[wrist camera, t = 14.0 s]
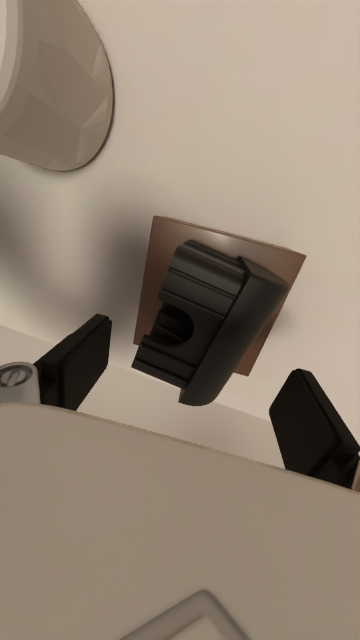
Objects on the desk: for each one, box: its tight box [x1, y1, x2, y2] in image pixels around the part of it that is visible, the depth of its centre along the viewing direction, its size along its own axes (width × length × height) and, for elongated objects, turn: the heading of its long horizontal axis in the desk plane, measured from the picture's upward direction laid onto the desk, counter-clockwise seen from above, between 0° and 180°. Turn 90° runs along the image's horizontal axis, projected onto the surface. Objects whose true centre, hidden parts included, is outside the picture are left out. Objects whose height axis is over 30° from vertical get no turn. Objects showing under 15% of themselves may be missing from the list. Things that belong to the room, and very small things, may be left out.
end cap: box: [131, 240, 289, 406], centre depth 16 cm, size 10×7×7 cm
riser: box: [133, 216, 306, 376], centre depth 21 cm, size 12×12×4 cm
